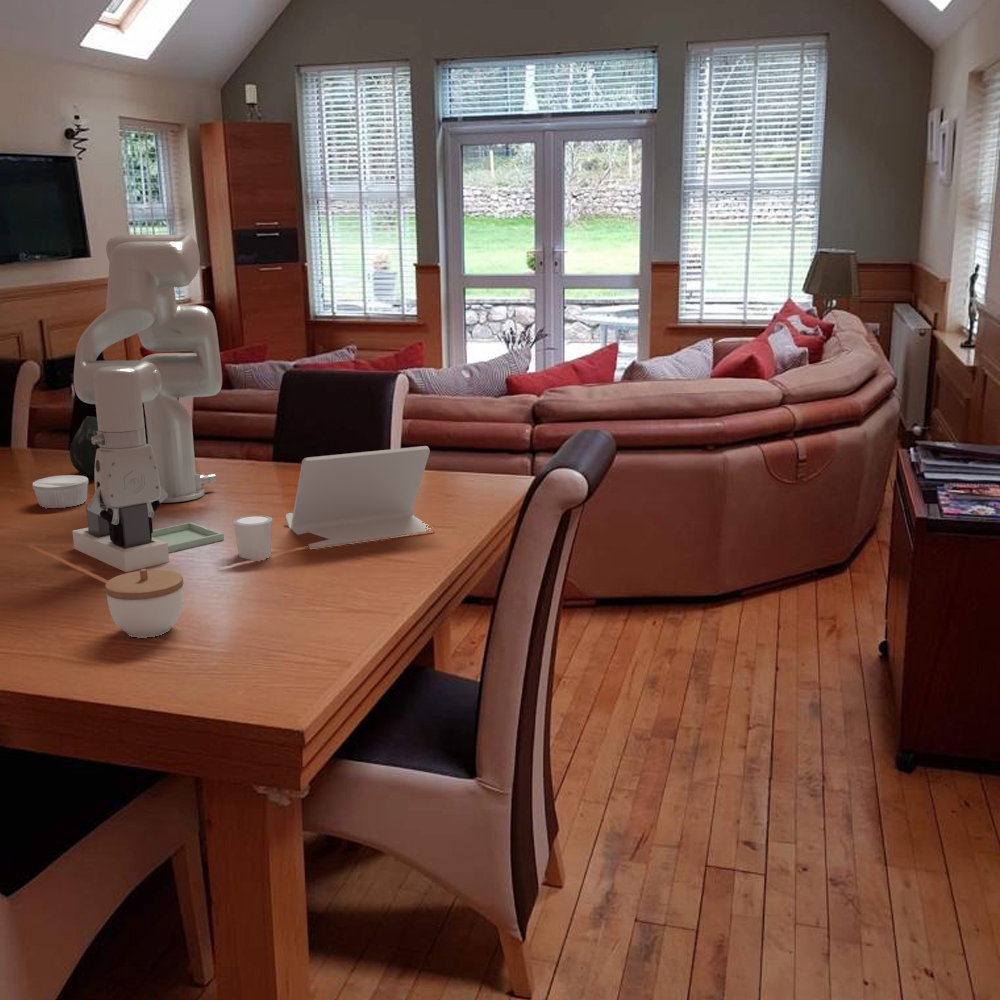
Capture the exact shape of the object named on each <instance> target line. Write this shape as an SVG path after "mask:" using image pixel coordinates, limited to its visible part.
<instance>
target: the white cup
mask: <svg viewBox="0 0 1000 1000" xmlns="http://www.w3.org/2000/svg"><path fill="white" fill-rule="evenodd" d="M232 522H233V528H234V534H235V539H236V540H235V541H236V546H237V551H238V557H240V558H242V559H245V560H246V561H256V560H263V559H266V558H269V557H270V556H271V557H272V540H273V538H272V537H273V536H272V535H273V517H271V516H267V515H259V514H258V515H247V516H241V517H237V518H235V519H233V521H232ZM271 557H270V558H271ZM270 558H269V559H270ZM246 561H245V562H246ZM263 561H264V560H263Z"/></svg>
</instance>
